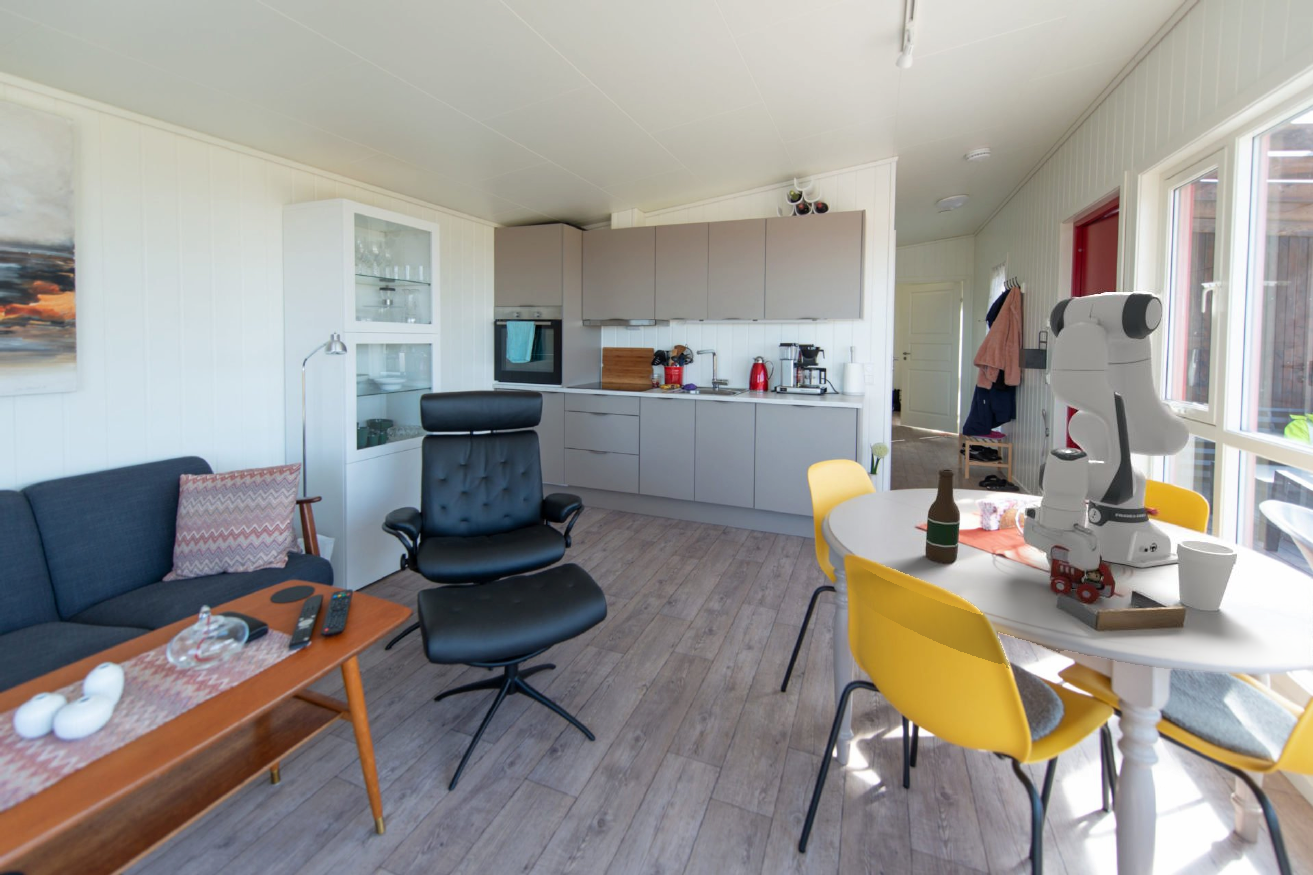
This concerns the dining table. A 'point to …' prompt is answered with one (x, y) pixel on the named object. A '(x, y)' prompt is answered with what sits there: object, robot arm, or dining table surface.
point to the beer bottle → (943, 522)
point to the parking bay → (1126, 614)
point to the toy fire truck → (1079, 578)
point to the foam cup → (1204, 573)
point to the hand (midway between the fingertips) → (1056, 574)
